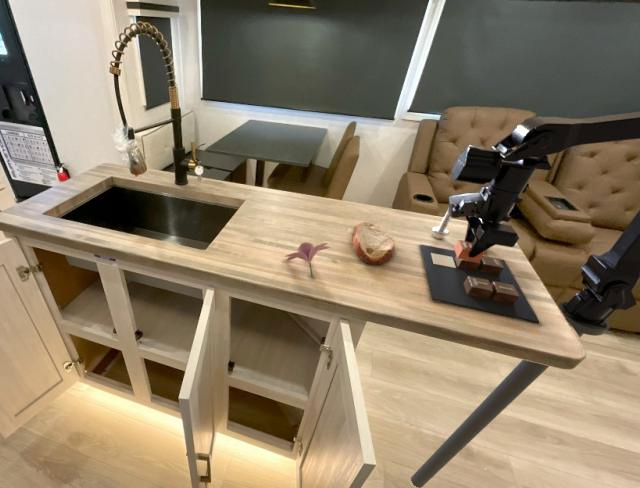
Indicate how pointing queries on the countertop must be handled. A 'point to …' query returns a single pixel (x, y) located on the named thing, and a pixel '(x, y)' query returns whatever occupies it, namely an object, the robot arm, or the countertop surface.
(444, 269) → the mat
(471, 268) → the brown block
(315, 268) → the countertop surface
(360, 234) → the slice of bread
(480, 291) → the chocolate piece
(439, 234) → the screw
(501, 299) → the tile
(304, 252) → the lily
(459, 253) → the tile
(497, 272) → the chocolate chunk
